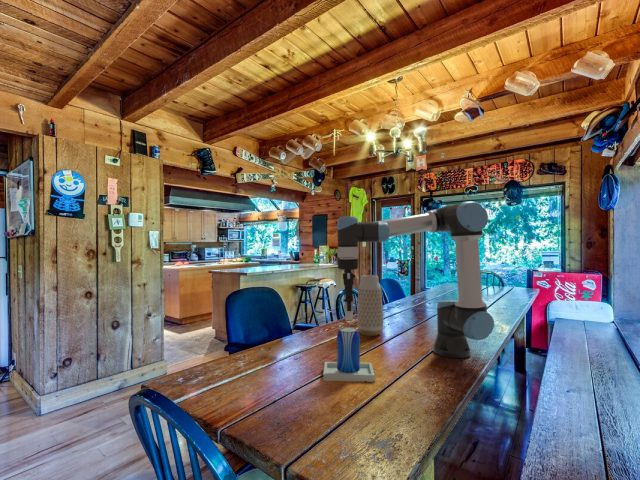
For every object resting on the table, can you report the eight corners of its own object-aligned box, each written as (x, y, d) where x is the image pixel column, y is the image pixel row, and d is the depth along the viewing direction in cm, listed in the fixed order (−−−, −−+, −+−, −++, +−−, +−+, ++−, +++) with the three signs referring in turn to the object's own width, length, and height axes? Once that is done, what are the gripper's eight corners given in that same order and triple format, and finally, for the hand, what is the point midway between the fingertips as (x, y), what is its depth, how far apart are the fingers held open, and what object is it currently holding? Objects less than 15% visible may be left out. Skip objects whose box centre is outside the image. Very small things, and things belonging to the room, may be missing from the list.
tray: (371, 368, 129) (371, 362, 129) (374, 381, 117) (374, 375, 117) (324, 367, 130) (324, 361, 130) (323, 380, 118) (323, 374, 118)
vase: (387, 332, 180) (386, 275, 180) (377, 338, 169) (376, 277, 169) (363, 328, 188) (363, 274, 188) (352, 334, 176) (352, 276, 176)
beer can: (359, 377, 119) (358, 332, 119) (335, 375, 121) (335, 331, 121) (360, 368, 127) (360, 326, 127) (338, 367, 129) (338, 325, 129)
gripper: (337, 256, 137) (338, 308, 137) (337, 260, 112) (338, 324, 112) (356, 256, 136) (357, 308, 136) (360, 260, 111) (361, 324, 111)
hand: (348, 315), depth 124 cm, fingers open, 13 cm apart
